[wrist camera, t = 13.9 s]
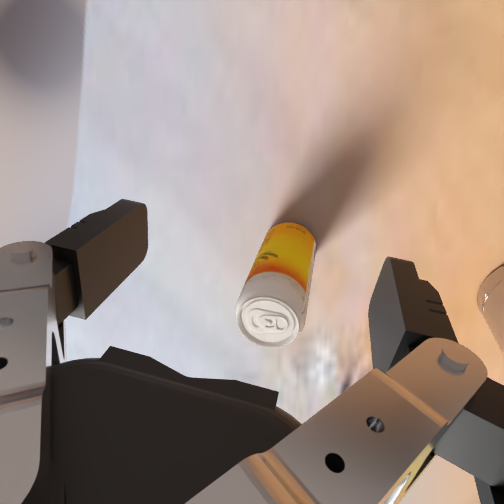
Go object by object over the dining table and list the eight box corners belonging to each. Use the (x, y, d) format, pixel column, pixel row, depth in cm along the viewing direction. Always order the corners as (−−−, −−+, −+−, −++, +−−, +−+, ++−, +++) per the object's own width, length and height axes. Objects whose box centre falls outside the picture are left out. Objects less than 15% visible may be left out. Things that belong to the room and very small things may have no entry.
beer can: (264, 218, 42) (228, 290, 30) (317, 220, 41) (304, 296, 28) (266, 264, 45) (235, 347, 32) (316, 267, 44) (303, 355, 31)
